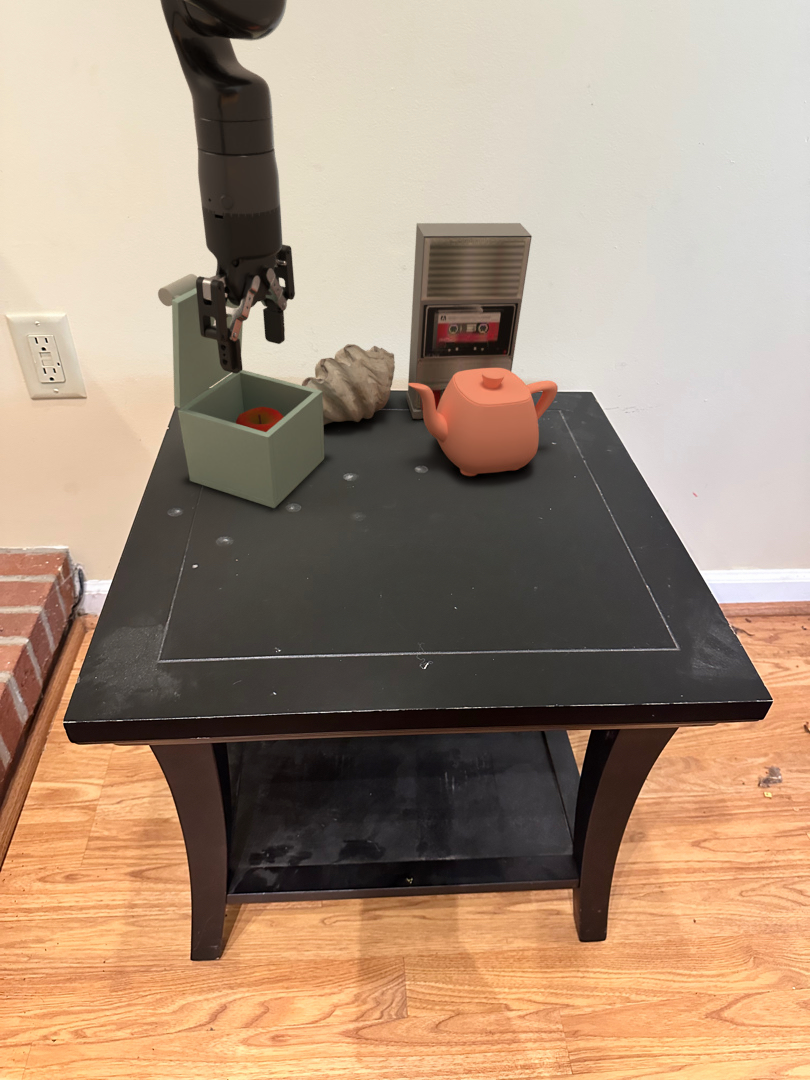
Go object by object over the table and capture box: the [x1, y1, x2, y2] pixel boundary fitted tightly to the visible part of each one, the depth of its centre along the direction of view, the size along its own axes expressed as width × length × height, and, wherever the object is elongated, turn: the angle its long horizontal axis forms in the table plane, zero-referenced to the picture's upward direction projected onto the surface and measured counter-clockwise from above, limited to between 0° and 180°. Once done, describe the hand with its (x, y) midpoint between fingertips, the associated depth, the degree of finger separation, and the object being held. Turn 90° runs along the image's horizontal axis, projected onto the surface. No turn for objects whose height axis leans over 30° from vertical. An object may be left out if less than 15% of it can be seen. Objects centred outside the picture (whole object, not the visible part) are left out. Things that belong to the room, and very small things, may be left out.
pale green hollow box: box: [177, 369, 325, 509], centre depth 89 cm, size 12×12×10 cm
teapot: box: [407, 368, 559, 477], centre depth 93 cm, size 13×20×12 cm, turn 106°
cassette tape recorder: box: [405, 222, 533, 420], centre depth 98 cm, size 14×6×25 cm, turn 99°
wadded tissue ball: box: [301, 343, 396, 426], centre depth 100 cm, size 10×15×10 cm
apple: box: [236, 407, 284, 432], centre depth 89 cm, size 6×6×8 cm
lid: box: [157, 273, 244, 409], centre depth 83 cm, size 13×12×5 cm
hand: (254, 355), depth 81 cm, fingers open, 8 cm apart
